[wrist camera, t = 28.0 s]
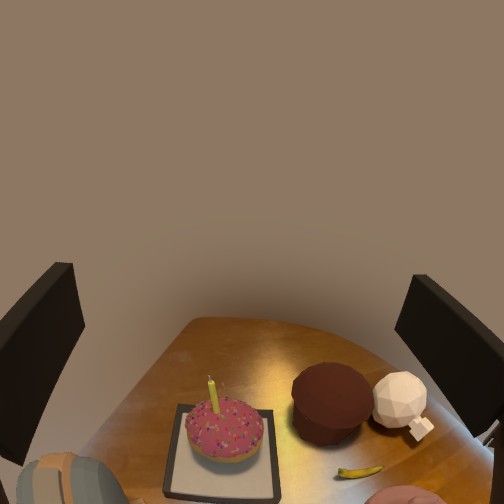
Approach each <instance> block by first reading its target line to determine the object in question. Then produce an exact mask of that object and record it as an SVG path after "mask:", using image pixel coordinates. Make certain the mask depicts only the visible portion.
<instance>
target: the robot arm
mask: <svg viewBox="0 0 504 504" xmlns="http://www.w3.org/2000/svg"><path fill="white" fill-rule="evenodd" d="M84 328H85V323H84V319H83V314H82V310H81V306H80V301H79V296H78V291H77V287H76V281H75V275H74V269H73V263H62V262H61V263H60V262H55V263H54V264H53V265H52V266H51V267H50V268H49V269H48V270H47V271H46V272H45V273H44V274H43V275H42V276H41V277H40V278H39V279H38V280H37V281H36V282H35V283H34V284H33V285H32V286H31V288H30V289H28V291H27V292H26V293H25V294H24V295H23V296H22V297H21V298H20V299H19V300H18V301H17V302H16V304H15V305H14V306H13V307H12V308H11V309H10V310H9V311H8V312H7V314H6V315H5V316H4V317H3V318H2V319H1V321H0V455H1V457H3V458H5V459H7V460H9V461H11V462H14V463H16V464H18V465H20V466H23V464H24V461H25V458H26V455H27V453H28V450H29V447H30V444H31V442H32V438H33V436H34V434H35V431H36V429H37V426H38V424H39V421H40V419H41V416H42V414H43V412H44V409H45V407H46V405H47V403H48V400H49V398H50V396H51V393H52V391H53V389H54V387H55V385H56V383H57V381H58V379H59V376H60V374H61V372H62V370H63V368H64V366H65V364H66V362H67V360H68V358H69V356H70V354H71V352H72V350H73V348H74V347H75V345H76V343H77V341H78V339H79V337H80V335H81V333H82V332H83V330H84ZM394 330H395V331H396V332H397V333H398V335H399V336H400V337H401V338H402V340H403V341H404V342H405V343H406V344H407V346H408V347H409V348H410V350H411V351H412V353H413V354H414V355H415V356H416V358H417V359H418V360H419V362H420V363H421V364H422V365H423V367H424V368H425V369H426V371H427V372H428V374H429V375H430V376H431V377H432V379H433V380H434V382H435V383H436V384H437V385H438V387H439V388H440V390H441V391H442V392H443V394H444V395H445V397H446V398H447V400H448V401H449V402H450V404H451V405H452V407H453V408H454V409H455V411H456V412H457V414H458V415H459V416H460V418H461V420H462V421H463V422H464V424H465V425H466V427H467V428H468V430H469V431H470V433H471V434H472V436H473V437H474V438H475V437H477V436H479V435H481V434H482V433H484V432H486V431H487V430H488V429H489V428H490V427H491V425H492V424H493V423H494V422H495V420H496V419H497V420H499V422H500V423H499V424H498V425H497V426H496V427H495V429H494V430H493V431H492V432H491V433H490V435H488V437H487V438H486V439H485V440H484V442H483V446H485V445H486V444H487V443H488V442H489V441H490V440H491V439H492V438H494V439H493V440H492V441H491V443H489V445H488V447H492V448H494V467H493V479H492V489H491V497H490V504H504V343H503V342H502V341H501V340H500V339H499V338H498V337H497V336H496V335H495V334H494V333H493V332H492V331H491V330H490V329H488V328H487V327H486V326H485V325H484V324H483V323H482V322H481V321H480V320H479V319H478V318H477V317H475V316H474V315H473V314H472V313H471V312H470V311H469V310H467V309H466V308H465V307H464V306H463V305H462V304H461V303H459V302H458V301H457V300H456V299H455V298H454V297H453V296H451V295H450V294H449V293H448V292H447V291H446V290H444V289H443V288H442V287H441V286H439V285H438V284H437V283H436V282H435V281H433V280H432V279H431V278H430V277H428V276H427V275H413V277H412V281H411V284H410V287H409V290H408V293H407V296H406V299H405V301H404V304H403V307H402V310H401V313H400V316H399V318H398V321H397V323H396V326H395V329H394ZM0 504H9V501H8V499H7V496H6V494H5V491H4V489H3V486H2V483H1V480H0Z"/></svg>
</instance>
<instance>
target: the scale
mask: <svg viewBox="0 0 504 504" xmlns="http://www.w3.org/2000/svg"><path fill="white" fill-rule="evenodd" d="M192 408H195V405H186V404H178V406H177V411H176V416H175V421H174V427H173V432H172V437H171V443H170V448H169V454H168V460H167V465H166V471H165V477H164V483H163V490H162V491H163V493H164V495H165V497H168V498H174V499H181V500H189V501H198V502H208V503H222V504H278V503H279V501H280V500H281V488H280V477H279V467H278V457H277V447H276V437H275V427H274V417H273V410H257V409H255V411H256V412H257V411H258V412H257V413H258V414H259V415H260V416H261V417H262V419H263V423H264V434H263V440H262V443H261V445H260V448H259V449H258V451H257V452H256V453H255V454H254V455H253V456H252V457H250V458H247V459H245V460H243V461H241V462H238V463H218V462H213V461H211V460H209V459H208V458H206V457H204V456H202V455H200V454H199V453H197V452H196V451H195V450H194V449H193V448H192V446H191V444H190V442H189V440H188V438H187V429H186V428H185V421H186V420H185V419H186V415H188V414H189V412H191V411H190V410H192Z"/></svg>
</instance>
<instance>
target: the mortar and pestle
mask: <svg viewBox="0 0 504 504" xmlns="http://www.w3.org/2000/svg"><path fill="white" fill-rule="evenodd" d="M364 504H447V503H446V502H445V501H443V500H442V499H441V498H440V497H439V495H437V494H433V493H431V492H429V491H428V490H426V489H423V488H420V487H417V486H411V485H402V486H392V487H388V488H385V489H383V490H381V491H379V492H377V493H375V494H374V495H373V496H371V497H370V498H369V499H368V500H367V501H366V502H365V503H364Z"/></svg>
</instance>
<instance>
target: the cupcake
mask: <svg viewBox="0 0 504 504" xmlns="http://www.w3.org/2000/svg"><path fill="white" fill-rule="evenodd" d="M208 377H209V382H208V387H209V392H210V397H211V399H210V400H208V401H203V402H201V403H200V404H199V405H198V406H197V405H196V406H195V408H192V410H190V411H191V412H189V414H188V415H186V419H185V420H186V421H185V428H186V429H187V438H188V440H189V442H190V444H191V446H192V448H193V449H194V450H195V451H196V452H197V453H199V454H200V455H202V456H204V457H206V458H208V459H209V460H211V461H213V462H218V463H238V462H241V461H243V460H245V459H247V458H250V457H252V456H253V455H254V454H255V453H256V452H257V451H258V449H259V448H260V445H261V443H262V440H263V434H264V423H263V419H262V417H261V416H260V415H259V414H258V413H257V412H258V411H257V412H256V411H255V408H254V409H253V408H252V407H251V406H249V405H247V404H246V402H242V401H239V400H237V399H236V398H234V399H233V398H228V397H225V398H224V397H223V398H217V393H216V387H215V382H214V381H212V380H211V377H210V375H208Z"/></svg>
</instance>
